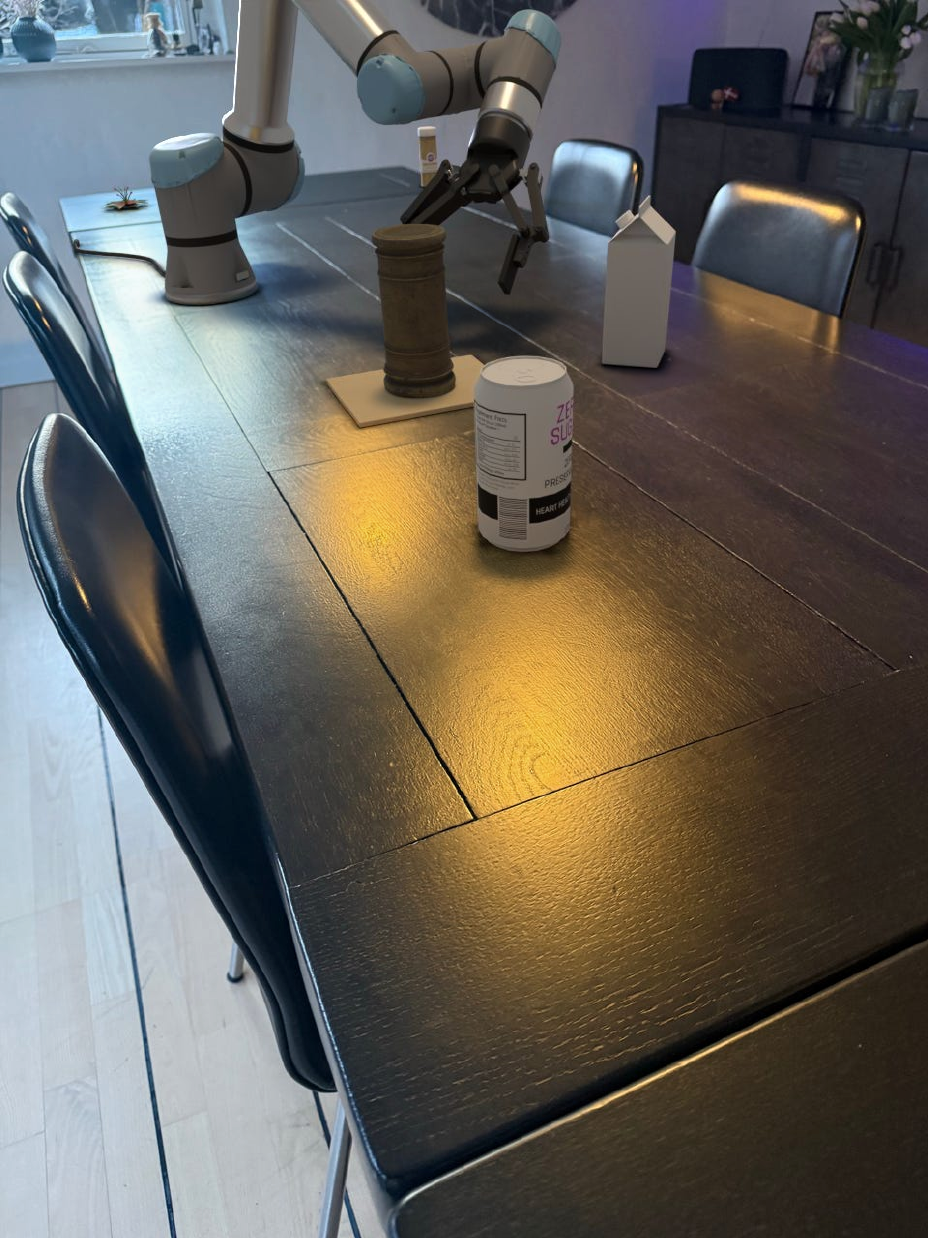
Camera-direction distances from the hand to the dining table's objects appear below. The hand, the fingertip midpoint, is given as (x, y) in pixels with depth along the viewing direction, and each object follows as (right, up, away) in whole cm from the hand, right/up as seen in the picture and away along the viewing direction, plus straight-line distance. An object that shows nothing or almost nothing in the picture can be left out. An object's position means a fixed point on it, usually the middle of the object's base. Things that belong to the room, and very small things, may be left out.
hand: (454, 284), depth 113 cm
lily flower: (-83, +60, +111) cm, 151 cm away
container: (-4, -13, -2) cm, 14 cm away
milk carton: (+23, -8, +5) cm, 25 cm away
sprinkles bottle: (-8, +69, +117) cm, 136 cm away
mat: (-4, -14, -2) cm, 15 cm away
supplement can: (+7, -35, -32) cm, 47 cm away
